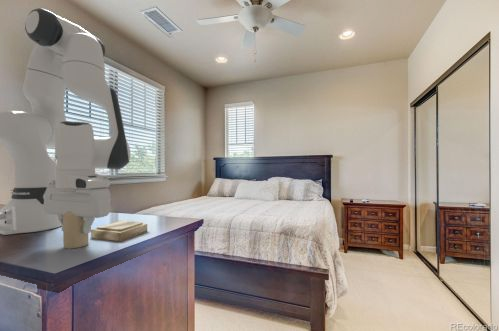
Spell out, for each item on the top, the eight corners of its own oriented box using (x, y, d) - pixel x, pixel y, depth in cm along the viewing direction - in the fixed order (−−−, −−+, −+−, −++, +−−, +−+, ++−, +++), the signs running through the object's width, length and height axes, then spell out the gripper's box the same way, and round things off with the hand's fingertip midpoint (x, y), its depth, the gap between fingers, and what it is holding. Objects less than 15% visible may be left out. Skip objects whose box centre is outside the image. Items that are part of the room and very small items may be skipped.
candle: (74, 242, 70) (74, 206, 70) (93, 242, 69) (92, 206, 69) (57, 248, 64) (57, 210, 64) (77, 249, 64) (77, 210, 64)
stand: (91, 237, 74) (90, 227, 74) (120, 228, 84) (120, 219, 84) (120, 241, 71) (120, 230, 71) (147, 231, 81) (147, 222, 81)
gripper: (36, 180, 67) (36, 232, 67) (93, 182, 61) (94, 238, 61) (60, 179, 73) (60, 226, 73) (115, 180, 67) (115, 231, 67)
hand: (76, 232), depth 67 cm, fingers closed on candle, 5 cm apart
